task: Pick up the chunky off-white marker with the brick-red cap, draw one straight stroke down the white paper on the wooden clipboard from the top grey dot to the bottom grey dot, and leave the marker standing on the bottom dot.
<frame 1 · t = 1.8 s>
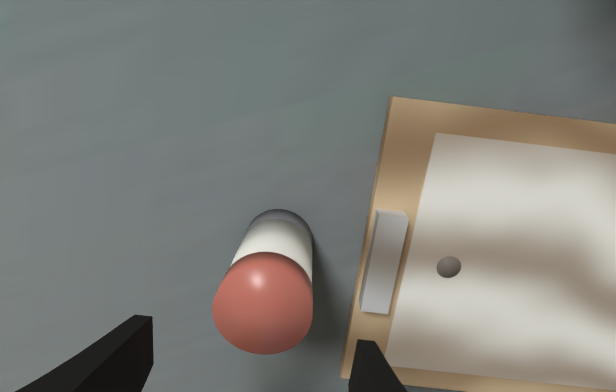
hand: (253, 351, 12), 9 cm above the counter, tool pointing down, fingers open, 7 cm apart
marker: (279, 240, 21), on the counter
clipboard: (556, 272, 21), on the counter
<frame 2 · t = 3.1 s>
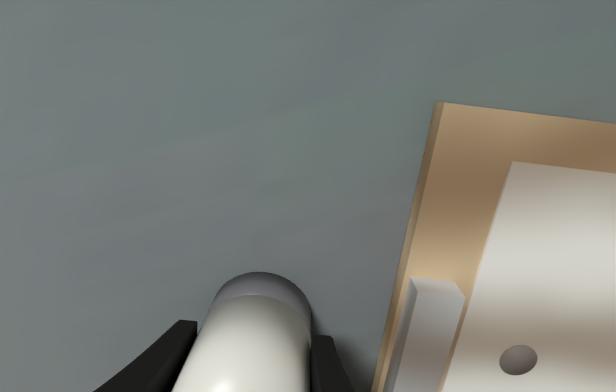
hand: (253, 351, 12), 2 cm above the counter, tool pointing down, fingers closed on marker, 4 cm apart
marker: (261, 315, 14), on the counter, touching gripper
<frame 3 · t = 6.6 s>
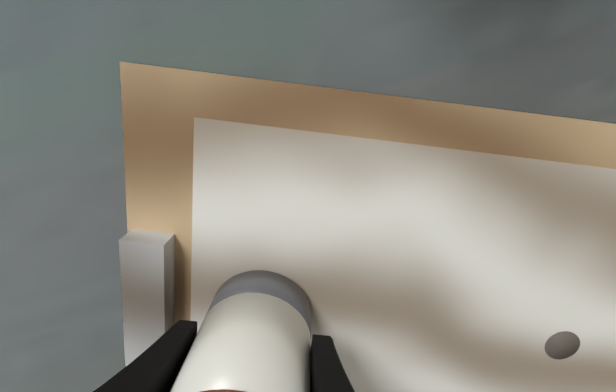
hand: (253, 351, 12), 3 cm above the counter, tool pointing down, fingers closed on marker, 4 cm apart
marker: (261, 314, 14), point 1 cm above the counter, touching gripper
clipboard: (414, 315, 15), on the counter
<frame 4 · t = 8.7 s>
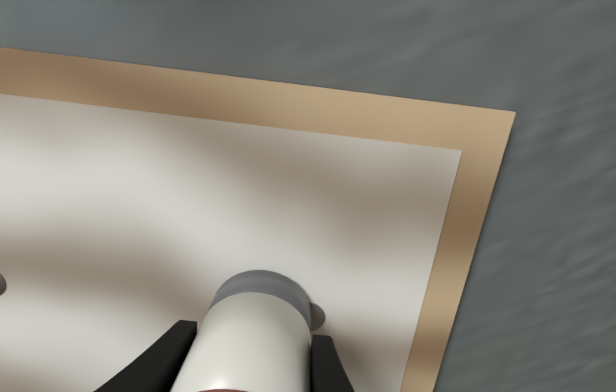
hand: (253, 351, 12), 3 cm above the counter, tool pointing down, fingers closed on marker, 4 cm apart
marker: (261, 313, 14), point 1 cm above the counter, touching gripper
clipboard: (170, 288, 15), on the counter
when the fingers open (4 cm above the counter, at t = 10.5 s): marker stays where it is, resting on clipboard.
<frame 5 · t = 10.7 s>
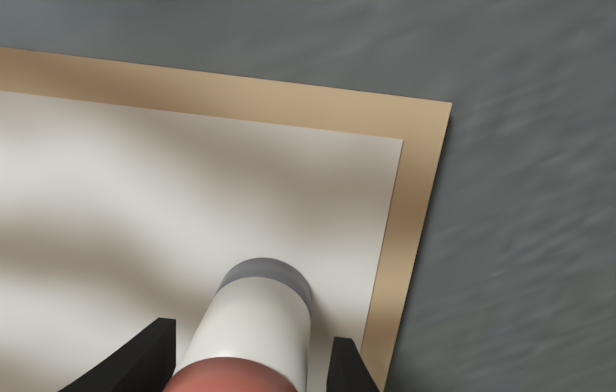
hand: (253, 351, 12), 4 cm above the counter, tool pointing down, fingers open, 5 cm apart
marker: (265, 299, 15), point 1 cm above the counter, touching clipboard
clipboard: (135, 273, 16), on the counter
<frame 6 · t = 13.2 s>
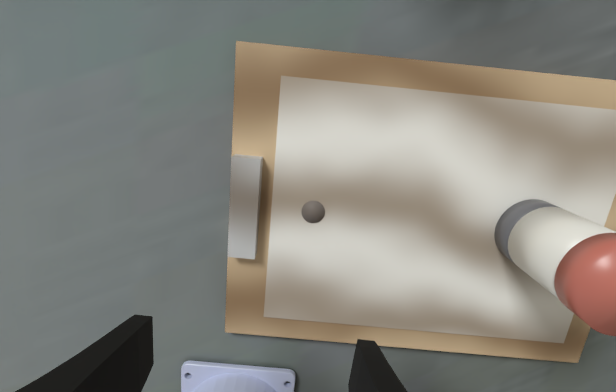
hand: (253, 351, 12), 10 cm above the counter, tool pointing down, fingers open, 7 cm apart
marker: (528, 231, 21), point 1 cm above the counter, touching clipboard
clipboard: (424, 217, 22), on the counter
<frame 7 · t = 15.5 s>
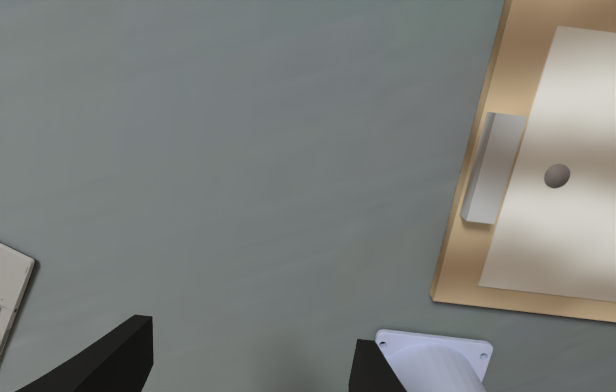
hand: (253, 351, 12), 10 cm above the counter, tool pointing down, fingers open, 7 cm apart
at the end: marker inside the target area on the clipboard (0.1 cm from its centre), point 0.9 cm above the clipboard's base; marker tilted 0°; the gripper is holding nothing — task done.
